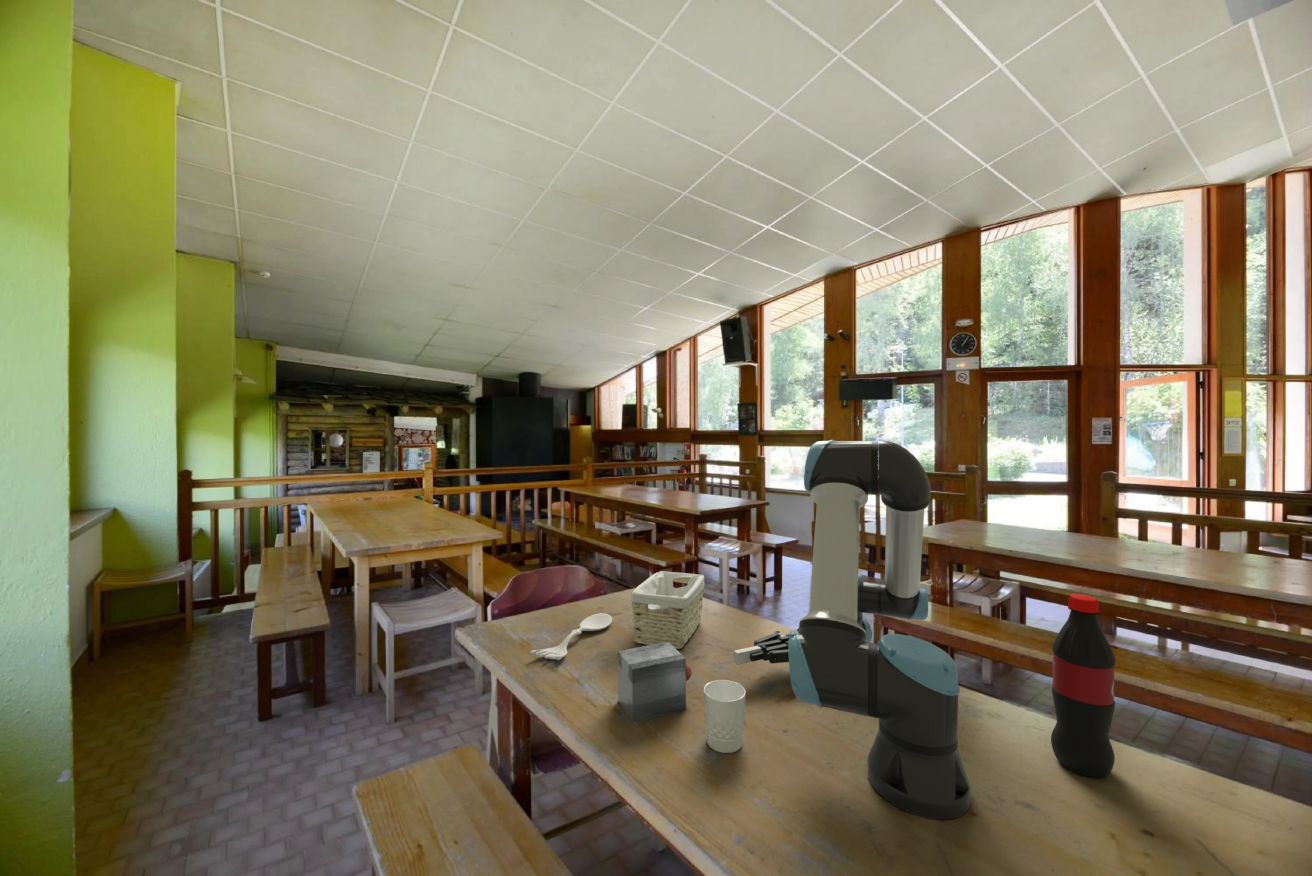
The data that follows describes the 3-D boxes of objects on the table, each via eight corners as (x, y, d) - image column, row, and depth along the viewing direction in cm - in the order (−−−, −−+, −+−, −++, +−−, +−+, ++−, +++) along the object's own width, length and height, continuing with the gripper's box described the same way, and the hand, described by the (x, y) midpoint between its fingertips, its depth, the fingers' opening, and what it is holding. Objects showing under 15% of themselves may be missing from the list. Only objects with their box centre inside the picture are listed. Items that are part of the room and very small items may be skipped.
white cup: (745, 758, 90) (745, 703, 90) (701, 752, 92) (701, 699, 91) (746, 732, 98) (746, 681, 98) (705, 727, 99) (705, 677, 99)
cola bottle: (1114, 765, 88) (1116, 595, 87) (1114, 790, 82) (1116, 608, 81) (1053, 744, 94) (1054, 585, 93) (1048, 767, 87) (1050, 596, 87)
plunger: (686, 675, 113) (686, 657, 113) (694, 683, 109) (694, 665, 109) (630, 687, 108) (630, 669, 107) (636, 696, 104) (636, 677, 104)
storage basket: (657, 614, 160) (657, 569, 160) (706, 621, 155) (706, 573, 154) (628, 645, 137) (628, 592, 137) (685, 654, 132) (685, 598, 132)
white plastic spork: (528, 663, 127) (528, 650, 127) (592, 619, 157) (592, 608, 157) (558, 670, 124) (558, 656, 124) (617, 623, 153) (617, 612, 153)
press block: (668, 689, 114) (668, 641, 114) (685, 710, 106) (685, 658, 105) (618, 700, 109) (618, 651, 109) (632, 723, 101) (632, 669, 101)
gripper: (835, 666, 119) (751, 687, 109) (799, 644, 131) (721, 661, 121) (835, 635, 119) (751, 653, 109) (799, 616, 130) (721, 631, 121)
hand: (735, 657), depth 115 cm, fingers closed
